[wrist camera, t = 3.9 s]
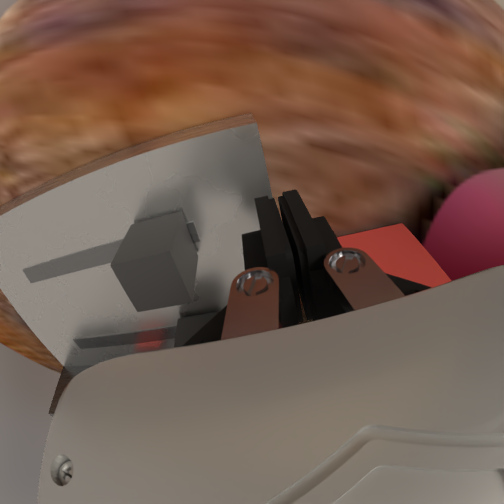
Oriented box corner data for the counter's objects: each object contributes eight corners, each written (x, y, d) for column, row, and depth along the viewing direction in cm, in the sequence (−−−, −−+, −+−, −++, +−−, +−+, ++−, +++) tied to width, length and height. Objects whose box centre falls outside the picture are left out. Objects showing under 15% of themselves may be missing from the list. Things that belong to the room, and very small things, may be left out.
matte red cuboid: (402, 223, 17) (453, 283, 12) (394, 292, 20) (429, 353, 15) (313, 242, 17) (343, 316, 12) (319, 311, 21) (341, 381, 16)
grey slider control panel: (251, 113, 13) (278, 163, 6) (293, 326, 21) (316, 430, 14) (-8, 211, 14) (-80, 290, 7) (89, 356, 22) (67, 438, 16)
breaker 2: (219, 310, 16) (219, 356, 13) (231, 338, 17) (233, 382, 14) (177, 318, 16) (171, 363, 13) (192, 345, 17) (189, 387, 15)
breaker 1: (181, 210, 12) (169, 251, 10) (198, 256, 14) (192, 302, 11) (131, 224, 12) (110, 265, 10) (151, 267, 14) (137, 312, 11)
